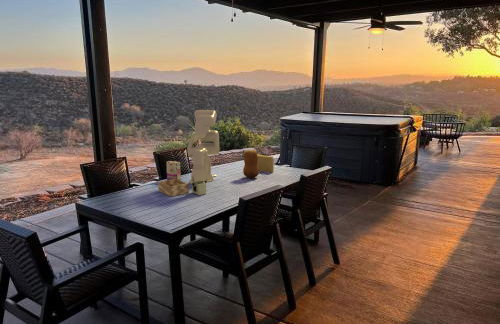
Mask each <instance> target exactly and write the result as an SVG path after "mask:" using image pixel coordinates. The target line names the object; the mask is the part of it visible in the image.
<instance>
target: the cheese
mask: <svg viewBox="0 0 500 324" xmlns="http://www.w3.org/2000/svg"><path fill="white" fill-rule="evenodd" d="M257 156H258V162H257V165H258V168H259V172H263V171H264V173H269V172H271V173H270V174H272V173H274V166H275V165H274V156H270V155H263V154H261V153H259V154H258V153H257Z"/></svg>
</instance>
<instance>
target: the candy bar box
mask: <svg viewBox="0 0 500 324" xmlns="http://www.w3.org/2000/svg"><path fill="white" fill-rule="evenodd" d="M165 162H166V165H165V166H166V180H173V179H178V180H181V179H182V178H181V177H182V176H181V162H180V161H172V160H168V161H165ZM181 181H182V180H181Z"/></svg>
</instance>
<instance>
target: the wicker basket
mask: <svg viewBox="0 0 500 324" xmlns="http://www.w3.org/2000/svg"><path fill="white" fill-rule="evenodd" d="M157 183H158V186H157V187H158V191H159V192H160V193H162V194H163V195H166V196H168V197H176V196H180V195H186V194H189V192H190V191H189V189H190V188H189V184H190V183H188V182H185V181H183V180H178V179H173V180H167V179H166V180H161V181H157Z"/></svg>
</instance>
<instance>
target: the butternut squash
mask: <svg viewBox="0 0 500 324" xmlns="http://www.w3.org/2000/svg"><path fill="white" fill-rule="evenodd" d="M257 154H258V152H257V150H256V149H246V150H244V152H243V162H244V166H243V170H242V173H243V176H244V177H246V178H249V179H251V180H252V179H255V178H257V177H258V176H259V174H260V171H259V168H258V165H257V162H258V156H257Z"/></svg>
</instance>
